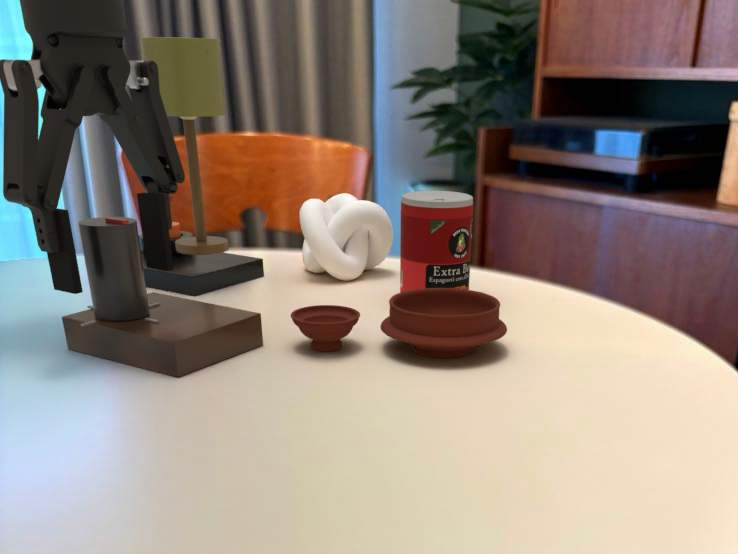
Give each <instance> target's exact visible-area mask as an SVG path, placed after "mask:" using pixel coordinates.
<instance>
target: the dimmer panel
mask: <svg viewBox="0 0 738 554" xmlns="http://www.w3.org/2000/svg"><path fill="white" fill-rule="evenodd" d="M147 298H148V305H149V312H150V313H149V314H148V315H147V316H145V317H143V318H139V319H135V320H129V321H104V320H100V319H97V318H96V317H95V315H94V310H93V305H90V304H89V305H87V307H86V309H85V310H81V311H78V312H74V313H70V314H67V315H63V316H61V321H62V325H63V330H64V336H65V342H66V346H67V349H68V350H71V351H75V352H78V353H82V354H85V355H90V356H93V357H97V358H102V359H105V360H108V361H109V360H110V361H113V362H116V363H120V364H125V365H127V366H128V365H129V366H133V367H137V368H141V369H145V370H148V371H152V372H155V373H160V374H165V375H167V376H171V377H176V378H180V377H183V376H186V375H188V374H191V373H193V372H197V371H198V370H201V369H203V368H206V367H210V366H212V365H215V364H217V363H219V362H222V361H224V360H228V359H231V358H233V357H236V356H239V355H241V354H244V353H246V352H249V351H251V350H253V349H257V348H259V347H262V346H264V337H263V323H262V313H261V312H256V311H250V310H246V309H241V308H236V307H229V306H225V305H220V304H215V303H210V302H205V301H200V300H195V299H188V298H186V297H185V298H184V297H181V296H180V297H179V296H174V295H170V294H164V293H160V292H154V291H153V292H149V293H148V292H147Z"/></svg>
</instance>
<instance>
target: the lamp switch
mask: <svg viewBox="0 0 738 554" xmlns="http://www.w3.org/2000/svg"><path fill="white" fill-rule="evenodd" d="M181 231H182V230H181V224H180V222H178V221H172V228H171V230H169V236H170V238H176V237H181Z"/></svg>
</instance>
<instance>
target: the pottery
mask: <svg viewBox="0 0 738 554" xmlns="http://www.w3.org/2000/svg"><path fill="white" fill-rule="evenodd" d="M388 304H389V312H388V313H389V316H387V317H386V318H384V319H383V320H382V321H381V323H380V330H381V331H382V333H383V334H385V336H388V337H390V338H391V339H394V340H396V341H400V342H403V343H407V344H409V345H410V348H411V349H412V351H413V352H415V353H416V354H418V355H421V356H424V357H430V358H436V359H437V358H438V359H439V358H441V359H451V358H454V359H455V358H460V357H465V356H468V355H470V354H472V353H473V352H474V351H475V349H476V347H477V346H479V345H484V344H489V343H492V342H495V341H498V340H499V339H502V338H503V337H504V336H505V335H506V334H507V333H508V327H507V325H506V324H505V322H504V321H503V320H502V319H500V308H501V302H500V300H499V299H498V298H496V297H495V296H493V295H490V294H488V293H485V292H481V291H477V290H471V289H469V290H465V289H455V288H425V289H415V290H409V291H405V292H401V293H400V292H398V293H396V294H394V295H392V296H391V297H390V298H389V301H388ZM360 317H361V313H360V312H359V310H356V309H355V308H353V307H348V306H345V305H335V304H332V305H331V304H318V305H310V306H309V305H308V306H303V307H300V308H297V309H295V310H292V312H291V313H290V318H291V320H292V322H293V324H294V325H295V326H296V327H297V328H298V329H299V331H300V332H301V334H302V335H303V336H305V337H306V338H308V339H310V340H311V342H310V348H311V349H312V350H314V351H317V352H336V351H338V350H341V349H342V348H343V341H342V339H344V338H346V337H347V336H348V335H350V333H351V332H352V330H353V328H354V326H355V325H357V324H358V321H359V320H360Z"/></svg>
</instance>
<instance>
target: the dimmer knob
mask: <svg viewBox="0 0 738 554" xmlns="http://www.w3.org/2000/svg"><path fill="white" fill-rule="evenodd" d="M77 224H78V230H79V236H80V243H81V246H82V247H81V248H82V251H83V252H82V253H83V259H84V264H85V265H84V266H85V270H86V276H87V281H88V286H89V293H90V299H91V304H92V306H93V310H94V315H95V317H96V318H97V319H100V320H104V321H129V320H135V319H139V318H143V317H145V316H147V315H148V314H149V313H150V312H149V305H148V298H147V294H148V292H147V287H146V284H145V277H144V270H143V263H142V256H141V249H140V242H139V235H140V234H139V228H138V221H137V219H135V218H133V217H125V216H99V217H91V218H85V219H81V220H79V221H78V223H77Z"/></svg>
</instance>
